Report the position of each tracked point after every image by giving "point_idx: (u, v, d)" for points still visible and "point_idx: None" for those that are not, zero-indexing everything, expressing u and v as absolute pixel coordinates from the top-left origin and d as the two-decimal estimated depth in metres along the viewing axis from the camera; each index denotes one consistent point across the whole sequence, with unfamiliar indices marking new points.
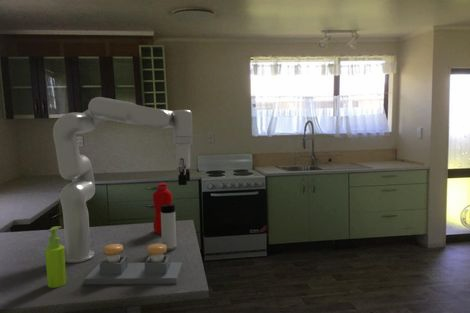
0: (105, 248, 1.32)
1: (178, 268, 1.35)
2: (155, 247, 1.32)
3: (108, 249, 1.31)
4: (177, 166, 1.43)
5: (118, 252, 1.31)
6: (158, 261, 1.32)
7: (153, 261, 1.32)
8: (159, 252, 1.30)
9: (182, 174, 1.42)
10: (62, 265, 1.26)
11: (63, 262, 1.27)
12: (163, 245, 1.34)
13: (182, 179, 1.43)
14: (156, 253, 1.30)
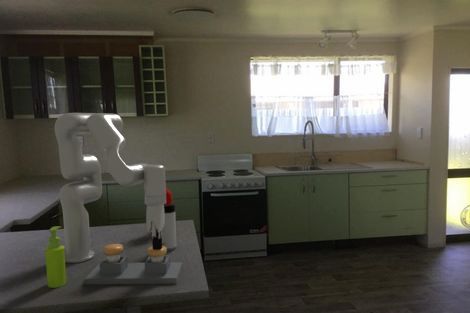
0: (105, 248, 1.32)
1: (178, 268, 1.35)
2: None
3: (108, 249, 1.31)
4: (148, 229, 1.27)
5: (118, 252, 1.31)
6: None
7: None
8: (159, 254, 1.30)
9: None
10: (62, 265, 1.26)
11: (63, 262, 1.27)
12: (163, 247, 1.34)
13: (156, 243, 1.31)
14: (156, 255, 1.30)
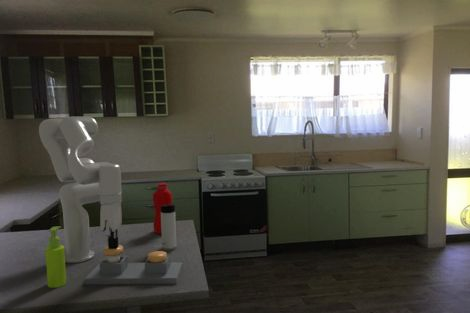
0: (105, 249, 1.32)
1: (178, 268, 1.35)
2: (155, 255, 1.32)
3: (108, 250, 1.31)
4: (102, 229, 1.27)
5: (118, 253, 1.31)
6: None
7: None
8: (159, 260, 1.30)
9: None
10: (62, 265, 1.26)
11: (63, 262, 1.27)
12: (163, 253, 1.35)
13: (112, 243, 1.31)
14: (156, 261, 1.30)
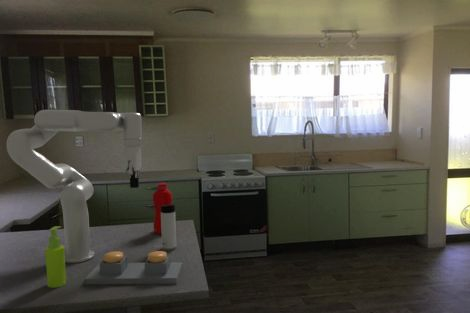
0: (105, 256, 1.32)
1: (178, 268, 1.35)
2: (155, 255, 1.32)
3: (108, 257, 1.31)
4: (125, 168, 1.45)
5: (118, 260, 1.31)
6: None
7: None
8: (159, 260, 1.30)
9: (133, 178, 1.49)
10: (62, 265, 1.26)
11: (63, 262, 1.27)
12: (163, 253, 1.35)
13: (133, 182, 1.49)
14: (156, 261, 1.30)
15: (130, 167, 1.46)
